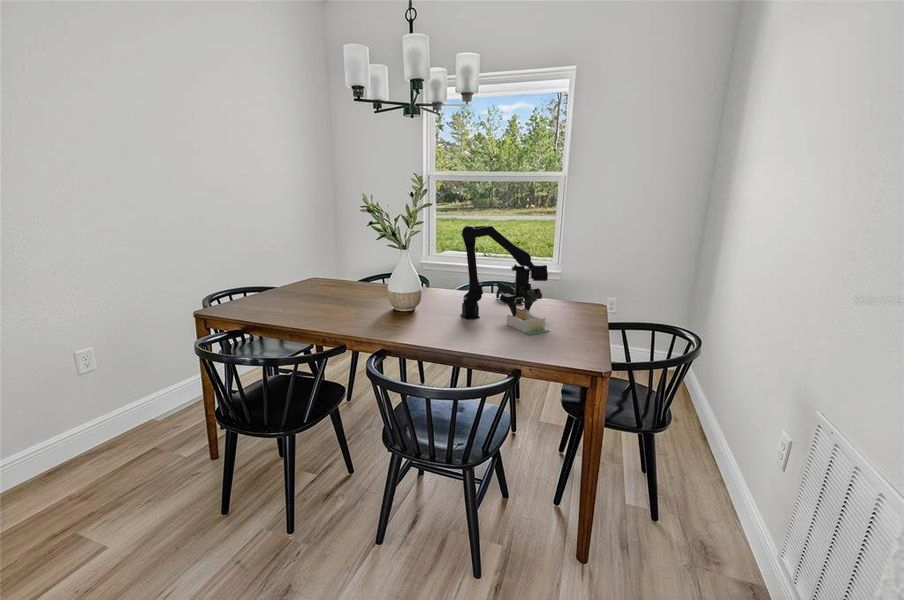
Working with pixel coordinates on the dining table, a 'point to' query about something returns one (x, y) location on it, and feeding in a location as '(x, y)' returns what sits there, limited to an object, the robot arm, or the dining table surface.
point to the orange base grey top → (521, 313)
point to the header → (528, 324)
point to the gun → (507, 291)
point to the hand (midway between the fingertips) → (520, 315)
